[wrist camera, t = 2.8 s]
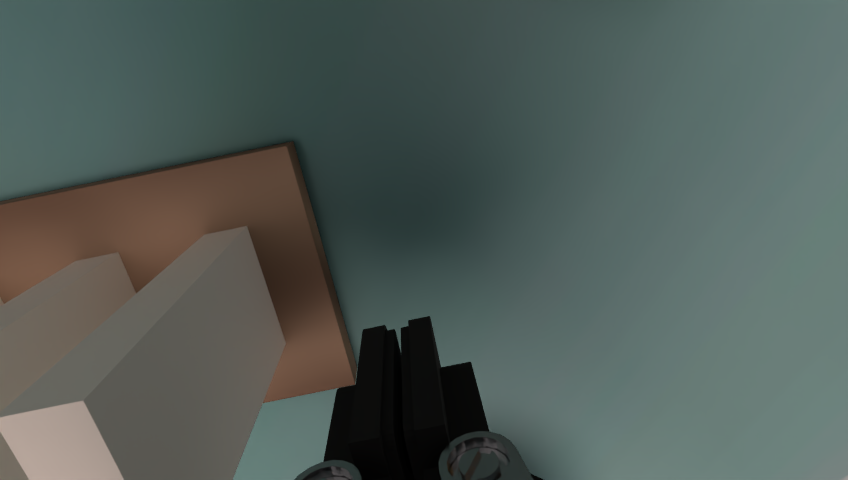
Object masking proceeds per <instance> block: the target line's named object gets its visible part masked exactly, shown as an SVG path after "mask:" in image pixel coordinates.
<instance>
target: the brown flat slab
mask: <svg viewBox="0 0 848 480" xmlns="http://www.w3.org/2000/svg"><path fill="white" fill-rule="evenodd" d="M244 226H247V228H248V231H249V234H250V237H251V240H252V243H253V246H254V249H255V252H256V255H257V258H258V261H259V264H260V267H261V270H262V273H263V276H264V279H265V282H266V285H267V288H268V291H269V294H270V297H271V300H272V303H273V306H274V309H275V312H276V315H277V318H278V321H279V324H280V327H281V330H282V333H283V336H284V339H285V342H286V345H285V347H284V350H283V352H282V355H281V357H280V360H279V362H278V365H277V368H276V370H275V373H274V375H273V378H272V380H271V383H270V385H269V388H268V390H267V393H266V396H265V398H264V401H263V403H265V402H270V401H275V400H280V399H285V398H290V397H295V396H300V395H305V394H310V393H315V392H320V391H325V390H330V389H335V388H340V387H345V386H350V385H355V381H356V373H357V366H356V362H355V359H354V355H353V351H352V348H351V344H350V341H349V337H348V334H347V330H346V327H345V323H344V320H343V316H342V312H341V309H340V305H339V302H338V298H337V295H336V291H335V288H334V284H333V280H332V277H331V273H330V270H329V266H328V263H327V259H326V256H325V252H324V249H323V245H322V241H321V238H320V234H319V231H318V227H317V224H316V220H315V217H314V213H313V210H312V206H311V202H310V199H309V195H308V192H307V188H306V185H305V181H304V178H303V174H302V171H301V167H300V163H299V160H298V156H297V153H296V149H295V146H294V142H293V141H292V142H287V143H282V144H277V145H272V146H267V147H262V148H258V149H253V150H248V151H243V152H238V153H233V154H228V155H223V156H219V157H214V158H209V159H204V160H199V161H194V162H189V163H185V164H180V165H175V166H170V167H165V168H160V169H155V170H151V171H146V172H141V173H136V174H131V175H126V176H121V177H117V178H112V179H107V180H102V181H97V182H92V183H87V184H83V185H78V186H73V187H68V188H63V189H58V190H53V191H49V192H44V193H39V194H34V195H29V196H24V197H19V198H15V199H10V200H5V201H0V298H1V300H2V301H3V303H4V304H5V303H7V302H8V301H10V300H12V299H13V298H15V297H17V296H18V295H20V294H21V293H23V292H25V291H26V290H28V289H30V288H31V287H33V286H35V285H36V284H38V283H40V282H41V281H43V280H45V279H46V278H48V277H50V276H51V275H53V274H55V273H56V272H58V271H60V270H61V269H63V268H65V267H66V266H68V265H70V264H71V263H73V262H75V261H78V260H83V259H88V258H93V257H98V256H102V255H107V254H112V253H117V252H118V253H119V255H120V257H121V260H122V262H123V264H124V267H125V269H126V271H127V274H128V276H129V278H130V281H131V283H132V285H133V287H134V290H135V292H136V294H137V293H138V292H139V291H140V290H141V289H142V288H143V287H145V286H146V285H147V284H148V283H149V282H150V281H151V280H153V279H154V278H155V277H156V276H157V275H158V274H159V273H161V272H162V271H163V270H164V269H165V268H166V267H167V266H169V265H170V264H171V263H172V262H173V261H174V260H176V259H177V258H178V257H179V256H180V255H181V254H182V253H184V252H185V251H186V250H187V249H188V248H189V247H190V246H192V245H193V244H194V243H195V242H196V241H197V240H198V239H200V238H201V237H202V236H203V235H205V234H210V233H215V232H220V231H225V230H230V229H234V228H239V227H244Z"/></svg>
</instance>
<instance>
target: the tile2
mask: <svg viewBox="0 0 848 480" xmlns="http://www.w3.org/2000/svg"><path fill="white" fill-rule="evenodd" d="M135 294H136V292H135V290H134V287H133V285H132V283H131V281H130V278H129V276H128V274H127V271H126V269H125V267H124V264H123V262H122V260H121V257H120V255H119V253H118V252H117V253H112V254H107V255H102V256H98V257H93V258H88V259H83V260H78V261H75V262H73V263H71V264H70V265H68V266H66V267H65V268H63V269H61V270H60V271H58V272H56V273H55V274H53V275H51V276H50V277H48V278H46V279H45V280H43V281H41V282H40V283H38V284H36V285H35V286H33V287H31V288H30V289H28V290H26V291H25V292H23V293H21V294H20V295H18V296H17V297H15V298H13V299H12V300H10V301H8V302H7V303H5V304H3V305H2V306H0V412H1V411H2V410H3V409H4V408H6V407H7V406H8V405H9V404H10V403H11V402H13V401H14V400H15V399H16V398H17V397H18V396H19V395H21V394H22V393H23V392H24V391H25V390H26V389H27V388H29V387H30V386H31V385H32V384H33V383H34V382H35V381H37V380H38V379H39V378H40V377H41V376H42V375H44V374H45V373H46V372H47V371H48V370H49V369H50V368H52V367H53V366H54V365H55V364H56V363H57V362H58V361H60V360H61V359H62V358H63V357H64V356H65V355H66V354H68V353H69V352H70V351H71V350H72V349H73V348H75V347H76V346H77V345H78V344H79V343H80V342H81V341H83V340H84V339H85V338H86V337H87V336H88V335H89V334H91V333H92V332H93V331H94V330H95V329H96V328H97V327H99V326H100V325H101V324H102V323H103V322H104V321H106V320H107V319H108V318H109V317H110V316H111V315H112V314H114V313H115V312H116V311H117V310H118V309H119V308H120V307H122V306H123V305H124V304H125V303H126V302H127V301H128V300H130V299H131V298H132V297H133V296H134V295H135ZM0 480H29V479H28V477H27V475H26V474H25V472H24V470H23V469H22V467H21V465H20V464H19V462H18V460H17V459H16V457H15V455H14V454H13V452H12V450H11V449H10V447H9V445H8V444H7V442H6V440H5V439H4V437H3V435H2V434H1V432H0Z"/></svg>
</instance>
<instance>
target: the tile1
mask: <svg viewBox="0 0 848 480" xmlns="http://www.w3.org/2000/svg"><path fill="white" fill-rule="evenodd" d="M285 345H286V342H285V339H284V336H283V333H282V330H281V327H280V324H279V321H278V318H277V315H276V312H275V309H274V306H273V303H272V300H271V297H270V294H269V291H268V288H267V285H266V282H265V279H264V276H263V273H262V270H261V267H260V264H259V261H258V258H257V255H256V252H255V249H254V246H253V243H252V240H251V237H250V234H249V231H248V228H247V226H244V227H239V228H234V229H230V230H225V231H220V232H215V233H210V234H205V235H203V236H202V237H201V238H200V239H198V240H197V241H196V242H195V243H194V244H193V245H192V246H190V247H189V248H188V249H187V250H186V251H185V252H184V253H182V254H181V255H180V256H179V257H178V258H177V259H176V260H174V261H173V262H172V263H171V264H170V265H169V266H167V267H166V268H165V269H164V270H163V271H162V272H161V273H159V274H158V275H157V276H156V277H155V278H154V279H153V280H151V281H150V282H149V283H148V284H147V285H146V286H145V287H143V288H142V289H141V290H140V291H139V292H138V293H137V294H135V295H134V296H133V297H132V298H131V299H130V300H128V301H127V302H126V303H125V304H124V305H123V306H122V307H120V308H119V309H118V310H117V311H116V312H115V313H114V314H112V315H111V316H110V317H109V318H108V319H107V320H106V321H104V322H103V323H102V324H101V325H100V326H99V327H97V328H96V329H95V330H94V331H93V332H92V333H91V334H89V335H88V336H87V337H86V338H85V339H84V340H83V341H81V342H80V343H79V344H78V345H77V346H76V347H75V348H73V349H72V350H71V351H70V352H69V353H68V354H66V355H65V356H64V357H63V358H62V359H61V360H60V361H58V362H57V363H56V364H55V365H54V366H53V367H52V368H50V369H49V370H48V371H47V372H46V373H45V374H44V375H42V376H41V377H40V378H39V379H38V380H37V381H35V382H34V383H33V384H32V385H31V386H30V387H29V388H27V389H26V390H25V391H24V392H23V393H22V394H21V395H19V396H18V397H17V398H16V399H15V400H14V401H13V402H11V403H10V404H9V405H8V406H7V407H6V408H4V409H3V410H2V411H1V412H0V432H1V434H2V435H3V437H4V439H5V440H6V442H7V444H8V445H9V447H10V449H11V450H12V452H13V454H14V455H15V457H16V459H17V460H18V462H19V464H20V465H21V467H22V469H23V470H24V472H25V474H26V475H27V477H28V479H29V480H233V477H234V475H235V472H236V469H237V467H238V464H239V462H240V459H241V457H242V454H243V452H244V449H245V447H246V444H247V441H248V439H249V436H250V434H251V431H252V429H253V426H254V424H255V421H256V419H257V416H258V413H259V411H260V408H261V406H262V403H263V401H264V398H265V396H266V393H267V390H268V388H269V385H270V383H271V380H272V378H273V375H274V373H275V370H276V368H277V365H278V362H279V360H280V357H281V355H282V352H283V350H284V347H285Z"/></svg>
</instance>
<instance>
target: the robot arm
mask: <svg viewBox="0 0 848 480" xmlns="http://www.w3.org/2000/svg"><path fill="white" fill-rule="evenodd" d="M294 480H543V479H541V478H539V477H537V476H534V475H532V474H530V472H529V471H528V469H527V467H526V465H525V463H524V461H523V460H522V458H521V456H520V454H519V452H518V451H517V449H516V447H515V446H514V445H513V444H512V442H511V441H510V440H509V439H507V438H505V437H504V436H502V435H500V434H497V433H493V432H489V429H488V425H487V421H486V417H485V414H484V410H483V406H482V402H481V398H480V394H479V391H478V387H477V383H476V379H475V375H474V372H473V368H472V364H471V362H466V363H461V364H456V365H451V366H446V367H441V365H440V360H439V356H438V351H437V346H436V342H435V337H434V332H433V328H432V323H431V319H430V316H428V317H423V318H418V319H413V320H408V326H407V327H403V328H401V352H400V348H399V344H398V339H397V335H396V332H395V329H393V330H388V331H387V328H386V326H385V325H383V326H378V327H373V328H368V329H363V332H362V340H361V347H360V355H359V363H358V371H357V378H356V385H351V386H346V387H341V388H339V389H337V393H336V397H335V403H334V408H333V413H332V419H331V424H330V429H329V435H328V440H327V445H326V451H325V456H324V462H321V463H319V464H316V465H314V466H312V467H310V468H308V469H307V470H305V471H304V472H302V473H301V474H299V475H298V476H297V477H296V478H295V479H294Z"/></svg>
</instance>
